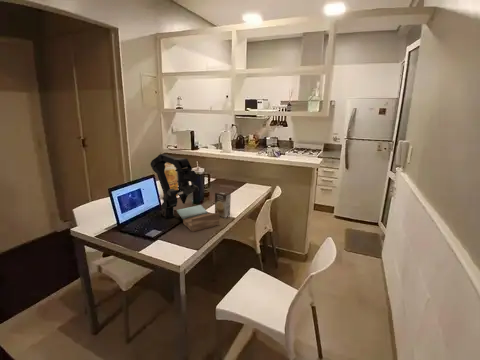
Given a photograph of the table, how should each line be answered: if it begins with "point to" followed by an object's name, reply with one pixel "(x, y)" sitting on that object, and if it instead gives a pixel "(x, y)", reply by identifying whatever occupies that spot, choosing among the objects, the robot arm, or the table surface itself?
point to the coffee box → (222, 203)
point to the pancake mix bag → (171, 176)
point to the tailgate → (191, 211)
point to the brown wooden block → (201, 221)
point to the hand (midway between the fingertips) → (183, 203)
